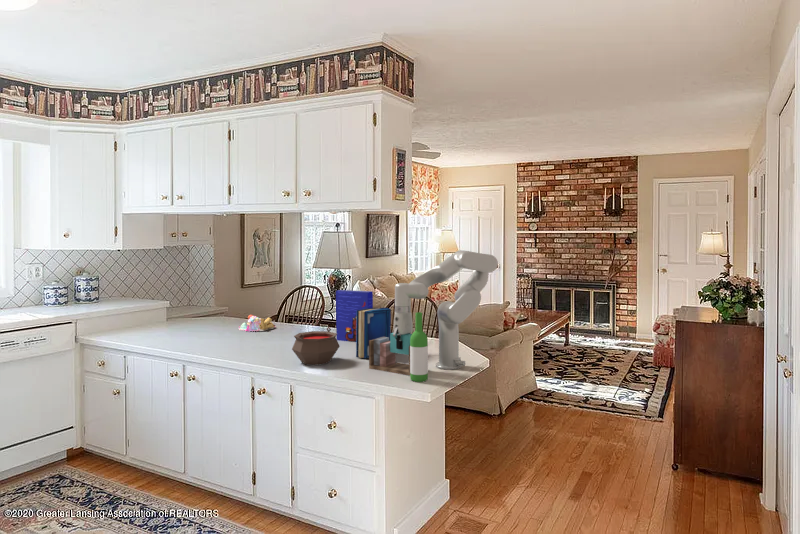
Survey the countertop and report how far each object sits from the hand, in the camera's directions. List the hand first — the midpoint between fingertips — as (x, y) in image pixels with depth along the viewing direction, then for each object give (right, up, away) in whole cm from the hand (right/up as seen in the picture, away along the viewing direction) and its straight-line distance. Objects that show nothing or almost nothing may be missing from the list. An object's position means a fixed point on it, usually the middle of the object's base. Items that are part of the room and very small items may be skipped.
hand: (402, 347), depth 265 cm
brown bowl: (-43, -10, +19) cm, 49 cm away
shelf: (-3, -11, +3) cm, 11 cm away
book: (-15, -9, +33) cm, 37 cm away
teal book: (0, -2, 0) cm, 2 cm away
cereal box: (-28, -6, +71) cm, 77 cm away
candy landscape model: (-98, -4, +114) cm, 150 cm away
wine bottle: (+7, -12, -17) cm, 22 cm away
